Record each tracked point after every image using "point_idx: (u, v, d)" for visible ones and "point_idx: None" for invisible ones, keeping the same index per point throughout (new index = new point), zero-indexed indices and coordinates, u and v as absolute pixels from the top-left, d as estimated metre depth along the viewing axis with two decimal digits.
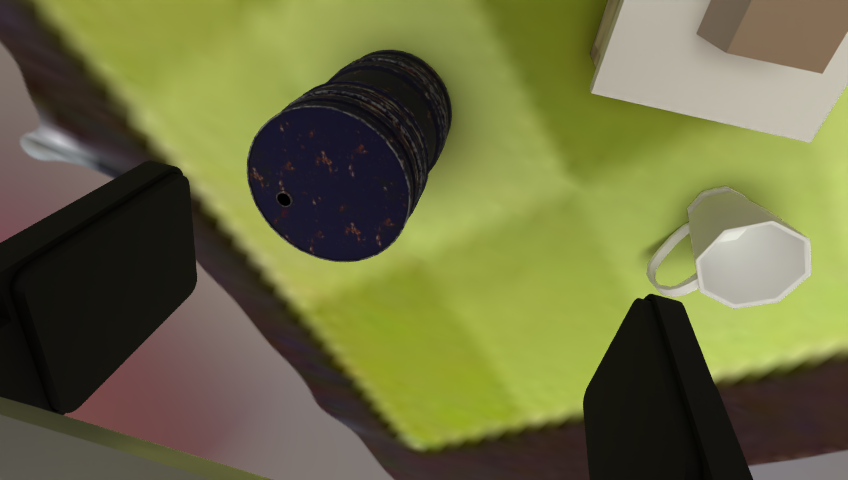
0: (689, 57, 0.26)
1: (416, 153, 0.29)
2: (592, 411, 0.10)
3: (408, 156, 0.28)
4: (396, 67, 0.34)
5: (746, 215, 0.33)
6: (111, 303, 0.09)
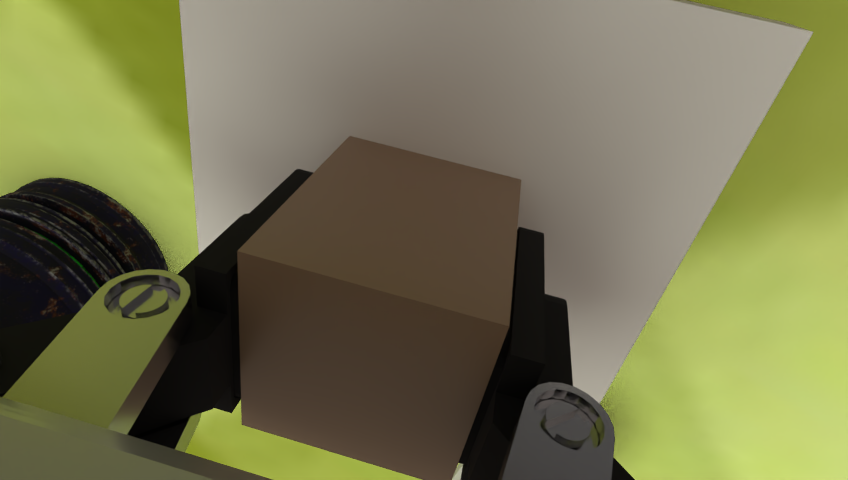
0: None
1: None
2: None
3: None
4: (7, 229, 0.22)
5: None
6: None
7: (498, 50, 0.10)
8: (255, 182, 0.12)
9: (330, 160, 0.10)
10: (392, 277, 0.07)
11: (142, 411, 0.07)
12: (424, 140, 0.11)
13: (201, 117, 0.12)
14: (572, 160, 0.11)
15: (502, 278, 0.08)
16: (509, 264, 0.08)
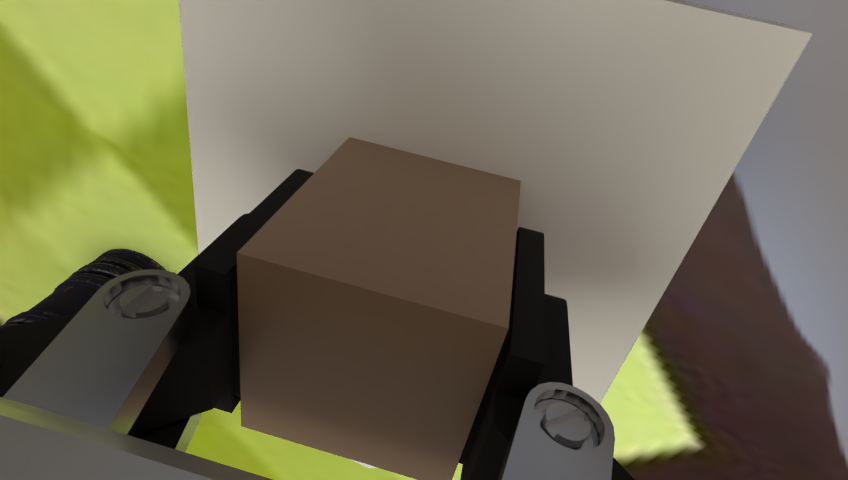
0: None
1: None
2: None
3: None
4: (105, 281, 0.44)
5: None
6: None
7: (497, 52, 0.10)
8: (255, 183, 0.12)
9: (330, 161, 0.10)
10: (391, 279, 0.07)
11: (142, 411, 0.07)
12: (424, 141, 0.11)
13: (201, 118, 0.12)
14: (571, 161, 0.11)
15: (501, 280, 0.08)
16: (508, 266, 0.08)
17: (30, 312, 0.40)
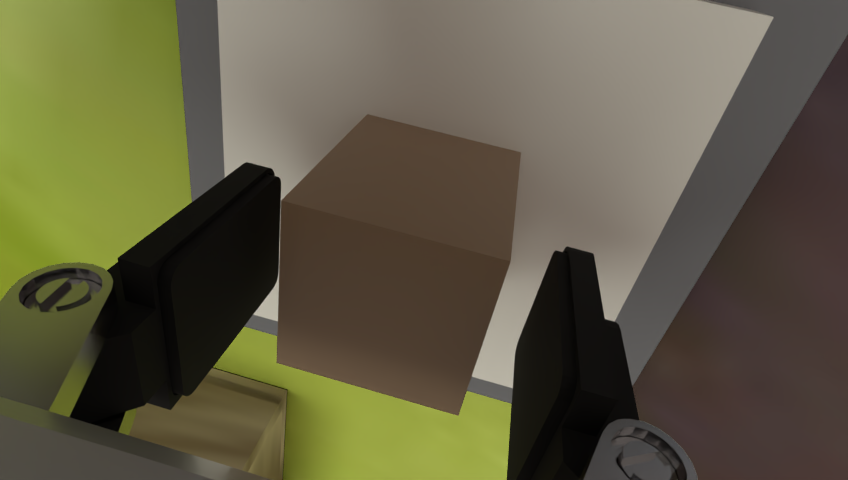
0: None
1: None
2: (519, 358, 0.11)
3: None
4: None
5: None
6: (222, 295, 0.09)
7: (500, 35, 0.11)
8: (280, 158, 0.14)
9: (352, 133, 0.11)
10: (411, 223, 0.09)
11: (74, 407, 0.07)
12: (434, 117, 0.12)
13: (233, 98, 0.13)
14: (566, 134, 0.12)
15: (504, 227, 0.09)
16: (510, 217, 0.09)
17: None
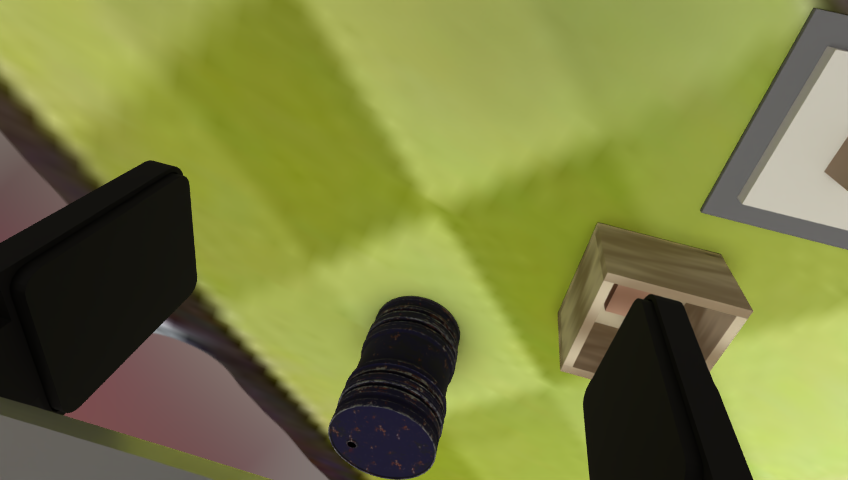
0: (817, 185, 0.38)
1: (439, 417, 0.44)
2: (592, 411, 0.10)
3: (434, 425, 0.43)
4: (423, 328, 0.49)
5: None
6: (111, 303, 0.09)
7: None
8: (809, 137, 0.36)
9: None
10: None
11: None
12: None
13: (801, 114, 0.36)
14: None
15: None
16: None
17: (385, 360, 0.45)
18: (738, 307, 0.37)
